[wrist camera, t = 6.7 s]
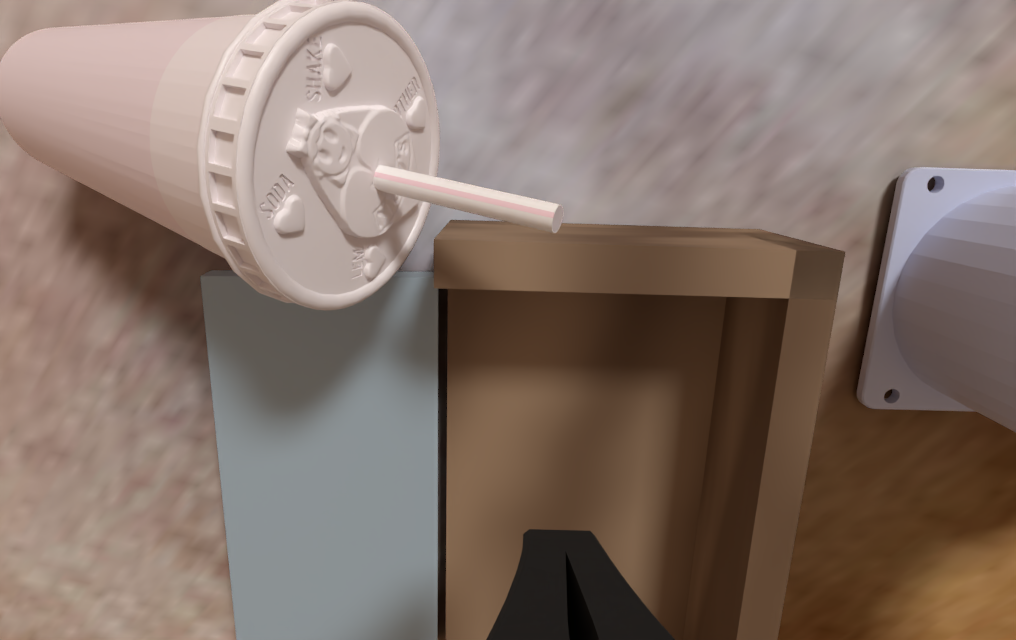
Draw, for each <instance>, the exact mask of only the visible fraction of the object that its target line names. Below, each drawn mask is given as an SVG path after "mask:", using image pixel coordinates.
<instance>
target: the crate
mask: <svg viewBox="0 0 1016 640" xmlns="http://www.w3.org/2000/svg"><path fill="white" fill-rule="evenodd" d="M844 257H845V252H844V251H840V250H836V249H833V248H829V247H825V246H821V245H817V244H814V243H810V242H806V241H802V240H798V239H795V238H791V237H787V236H783V235H779V234H775V233H772V232H768V231H764V230H760V229H729V228H697V227H664V226H632V225H599V224H567V223H561V226H560V228H559V230H558V231H557V232H556V233H552V232H548V231H544V230H539V229H535V228H531V227H527V226H523V225H519V224H515V223H511V222H502V221H470V220H450V221H449V223H448V224H447V225H446V226H445V227H444V228H443V229H442V231H441V232H440V233H439V234H438V235H437V236H436V237H435V239H434V288H442V289H448V336H447V497H446V640H486V639H487V637H488V635H489V633H490V631H491V629H492V627H493V625H494V623H495V621H496V619H497V617H498V615H499V613H500V611H501V608H502V606H503V604H504V602H505V600H506V597H507V595H508V592H509V590H510V587H511V584H512V582H513V579H514V576H515V574H516V571H517V568H518V564H519V561H520V557H521V553H522V547H523V534H524V533H525V532H526V531H528V530H529V529H543V530H584V531H591V532H592V533H593V534H594V535H595V536H596V538H597V540H598V541H599V543H600V544H601V546H602V547H603V549H604V550H605V552H606V553H607V555H608V556H609V558H610V559H611V561H612V562H613V563H614V565H615V566H616V568H617V569H618V570H619V572H620V573H621V575H622V576H623V577H624V579H625V580H626V581H627V583H628V584H629V585H630V587H631V588H632V589H633V590H634V592H635V593H636V594H637V595H638V597H639V598H640V599H641V600H642V602H643V603H644V604H645V606H646V607H647V608H648V609H649V610H650V612H651V613H652V614H653V615H654V616H655V617H656V619H657V620H658V621H659V622H660V623H661V624H662V625H663V627H664V628H665V629H666V630H667V631H668V632H669V633H670V634H671V635H672V637H673V638H674V639H675V640H778V634H779V628H780V622H781V617H782V611H783V605H784V600H785V594H786V588H787V582H788V577H789V571H790V565H791V560H792V554H793V548H794V542H795V537H796V531H797V525H798V519H799V514H800V508H801V502H802V497H803V491H804V485H805V479H806V474H807V468H808V462H809V457H810V451H811V445H812V439H813V434H814V428H815V422H816V417H817V411H818V405H819V399H820V394H821V388H822V382H823V377H824V371H825V365H826V359H827V354H828V348H829V342H830V337H831V331H832V325H833V319H834V314H835V308H836V302H837V297H838V291H839V285H840V279H841V274H842V268H843V262H844Z"/></svg>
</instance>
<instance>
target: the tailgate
mask: <svg viewBox="0 0 1016 640" xmlns="http://www.w3.org/2000/svg"><path fill="white" fill-rule="evenodd" d="M200 280H201V290H202V300H203V310H204V320H205V330H206V340H207V350H208V360H209V370H210V380H211V389H212V399H213V409H214V419H215V429H216V439H217V449H218V459H219V469H220V479H221V489H222V499H223V509H224V519H225V529H226V539H227V549H228V559H229V569H230V579H231V589H232V599H233V609H234V619H235V629H236V639H237V640H437V633H438V288H434V272H396V273H395V274H394V275H393V276H392V277H391V279H390V280H389V281H388V282H387V283H386V284H385V285H384V286H382V287H381V288H380V289H379V290H378V291H376V292H375V293H374V294H373V295H371V296H370V297H368V298H366V299H365V300H363V301H361V302H359V303H357V304H355V305H353V306H350V307H347V308H343V309H338V310H327V311H325V310H315V309H311V308H307V307H304V306H301V305H298V304H295V303H285V302H282V301H280V300H277V299H274V298H271V297H269V296H266V295H263V294H261V293H258V292H257V291H256V290H255V289H254V288H252V287H251V286H250V285H249V284H248V283H247V282H245V281H244V280H243V279H242V278H241V277H239V276H238V275H237V274H236V273H235V272H234V271H233V270H211V271H209V272H207V273H205V274H203V275H202V276H200Z"/></svg>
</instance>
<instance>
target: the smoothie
mask: <svg viewBox="0 0 1016 640" xmlns="http://www.w3.org/2000/svg"><path fill="white" fill-rule="evenodd" d="M0 117H1V119H2V121H3V124H4V125H5V127H6V129H7V131H8V132H9V134H10V135H11V136H12V138H13V139H14V140H15V141H16V143H17V144H18V145H19V146H20V147H21V148H22V149H23V150H24V151H26V152H27V153H28V154H29V155H31V156H32V157H33V158H35V159H36V160H38V161H40V162H42V163H44V164H45V165H47V166H49V167H51V168H53V169H55V170H57V171H59V172H61V173H63V174H65V175H67V176H68V177H70V178H72V179H74V180H76V181H78V182H80V183H82V184H84V185H86V186H88V187H90V188H91V189H93V190H95V191H97V192H99V193H101V194H103V195H105V196H107V197H109V198H111V199H113V200H114V201H116V202H118V203H120V204H122V205H124V206H126V207H128V208H130V209H132V210H134V211H136V212H137V213H139V214H141V215H143V216H145V217H147V218H149V219H151V220H153V221H155V222H157V223H159V224H160V225H162V226H164V227H166V228H168V229H170V230H172V231H174V232H176V233H178V234H180V235H182V236H183V237H185V238H187V239H189V240H191V241H193V242H195V243H197V244H199V245H201V246H202V247H204V248H206V249H207V250H209V251H211V252H213V253H215V254H217V255H219V256H221V257H223V258H225V259H226V261H227V262H228V264H229V265H230V267H231V268H232V270H233V271H234V272H235V273H236V274H237V275H238V276H239V277H241V278H242V279H243V280H244V281H245V282H247V283H248V284H249V285H250V286H251V287H252V288H254V289H255V290H256V291H257V292H258V293H261V294H263V295H266V296H269V297H271V298H274V299H277V300H280V301H282V302H285V303H295V304H298V305H301V306H304V307H307V308H311V309H315V310H325V311H327V310H338V309H343V308H347V307H350V306H353V305H355V304H357V303H359V302H361V301H363V300H365V299H366V298H368V297H370V296H371V295H373V294H374V293H375V292H376V291H378V290H379V289H380V288H381V287H382V286H384V285H385V284H386V283H387V282H388V281H389V280H390V279H391V277H392V276H393V275H394V274H395V273H396V272H397V271H398V269H399V268H400V267H401V266H402V264H403V263H404V261H405V260H406V258H407V257H408V255H409V253H410V252H411V250H412V249H413V247H414V245H415V243H416V241H417V239H418V237H419V235H420V233H421V231H422V228H423V226H424V223H425V220H426V217H427V214H428V212H429V209H430V206H431V203H432V204H436V205H440V206H445V207H449V208H453V209H457V210H461V211H465V212H469V213H473V214H478V215H482V216H486V217H490V218H494V219H498V220H502V221H506V222H511V223H515V224H519V225H523V226H527V227H531V228H535V229H539V230H544V231H548V232H552V233H556V232H557V231H558V230H559V228H560V226H561V223H562V219H563V206H562V205H560V204H555V203H551V202H546V201H542V200H537V199H533V198H528V197H524V196H519V195H515V194H510V193H506V192H501V191H497V190H492V189H488V188H483V187H479V186H474V185H470V184H465V183H461V182H456V181H452V180H447V179H443V178H438V177H437V171H438V164H439V146H440V131H439V118H438V109H437V104H436V98H435V93H434V88H433V85H432V82H431V79H430V76H429V73H428V70H427V67H426V64H425V62H424V60H423V58H422V56H421V54H420V52H419V50H418V48H417V46H416V45H415V43H414V41H413V40H412V39H411V37H410V36H409V34H408V33H407V32H406V30H405V29H404V28H403V27H402V26H401V25H400V24H399V23H398V22H397V21H396V20H395V19H394V18H393V17H391V16H390V15H389V14H387V13H386V12H385V11H383V10H381V9H379V8H377V7H375V6H373V5H370V4H367V3H364V2H358V1H352V0H279V1H277V2H276V3H274V4H272V5H271V6H269V7H268V8H266V9H264V10H263V11H261V12H260V13H258V14H256V15H236V16H229V17H213V18H198V19H182V20H166V21H151V22H135V23H119V24H104V25H88V26H72V27H57V28H46V29H41V30H37V31H34V32H32V33H29V34H27V35H25V36H23V37H22V38H20V39H19V40H18V41H16V42H15V43H14V44H13V45H12V46H11V47H10V48H9V49H8V51H7V52H6V53H5V55H4V56H3V58H2V60H1V62H0Z"/></svg>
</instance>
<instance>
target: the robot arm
mask: <svg viewBox="0 0 1016 640" xmlns="http://www.w3.org/2000/svg"><path fill="white" fill-rule="evenodd" d="M932 177H933V178H934V179H935V186H934V188H933V189H932V190H931V191H930V192H929V190H928V189H927V183H928V181H929V180H930V179H931V178H932ZM890 389H892V394H891V396H889V397H888V398H886V399H884V395H885V393H886V392H887V391H888V390H890ZM857 398H858V400H859V402H861V403H862V404H863V405H865V406H866V407H868V408H872V409H894V410H934V411H973V412H978V413H980V414H982V415H984V416H985V417H987V418H989V419H991V420H993V421H995V422H997V423H999V424H1001V425H1002V426H1004V427H1006V428H1008V429H1010V430H1012V431H1014V432H1016V170H991V169H960V168H930V167H914V168H909V169H907V170H905V171H904V172H903V173H902V174H901V175H900V176H899V178H898V181H897V184H896V189H895V194H894V199H893V205H892V210H891V215H890V220H889V225H888V231H887V236H886V241H885V246H884V252H883V257H882V262H881V267H880V273H879V278H878V283H877V288H876V293H875V299H874V304H873V309H872V314H871V320H870V325H869V330H868V335H867V341H866V346H865V351H864V356H863V361H862V367H861V372H860V377H859V382H858V388H857ZM486 640H675V639H674V638H673V637H672V635H671V634H670V633H669V632H668V631H667V630H666V629H665V628H664V627H663V625H662V624H661V623H660V622H659V621H658V620H657V619H656V617H655V616H654V615H653V614H652V613H651V612H650V610H649V609H648V608H647V607H646V606H645V604H644V603H643V602H642V600H641V599H640V598H639V597H638V595H637V594H636V593H635V592H634V590H633V589H632V588H631V587H630V585H629V584H628V583H627V581H626V580H625V579H624V577H623V576H622V575H621V573H620V572H619V570H618V569H617V568H616V566H615V565H614V563H613V562H612V561H611V559H610V558H609V556H608V555H607V553H606V552H605V550H604V549H603V547H602V546H601V544H600V543H599V541H598V540H597V538H596V536H595V535H594V534H593V533H592V532H591V531H584V530H543V529H529V530H528V531H526V532H525V533H524V534H523V547H522V553H521V557H520V561H519V564H518V568H517V571H516V574H515V576H514V579H513V582H512V584H511V587H510V590H509V592H508V595H507V597H506V600H505V602H504V604H503V606H502V608H501V611H500V613H499V615H498V617H497V619H496V621H495V623H494V625H493V627H492V629H491V631H490V633H489V635H488V637H487V639H486Z"/></svg>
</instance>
